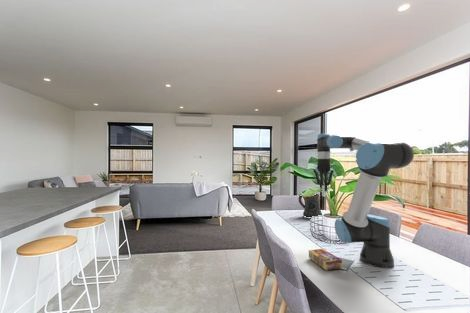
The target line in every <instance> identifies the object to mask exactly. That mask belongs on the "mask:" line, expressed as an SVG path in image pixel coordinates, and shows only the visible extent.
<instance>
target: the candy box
mask: <svg viewBox="0 0 470 313" xmlns="http://www.w3.org/2000/svg"><path fill="white" fill-rule="evenodd" d="M336 256H337V255H334V254H333V253H331V252H329V251H327V250H325V249H324V248H317V249H309V250H308V258H309V259H310V260H312V261H313V262H314V263H315V264H317V265H318V266H320V267H321V268H322V269H324V270H325V271H329V270H337V269H338V270H340V269H339V268H342V260H341V259H339V258H338V257H339V256H338V257H336Z"/></svg>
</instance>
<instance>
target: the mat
mask: <svg viewBox="0 0 470 313" xmlns="http://www.w3.org/2000/svg"><path fill="white" fill-rule="evenodd" d="M335 256H336V257H338V258H339V259H341V260H342V268H339V269H338V270H342V271H346V272H347V271H348V270H349V268H350V267H351V266H352V265H353V263H354V262H355V259H351V258H346V257H342V256H337V255H335Z"/></svg>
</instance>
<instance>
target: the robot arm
mask: <svg viewBox="0 0 470 313" xmlns="http://www.w3.org/2000/svg"><path fill="white" fill-rule="evenodd" d="M316 141H317V142H316V145H317V147H316V148H317V149H316V150H317V152H316V155H317V162H316V163H317V166H316V168H315V169H313V173H314V175H315V179H316V183H317V184H316V185H319V186H320V191H321V196H322V197H326V196H327V192H328V186H331V184H332V181H333V175H334V173H335V171H336V170H335V169H333V168H332V167H331V159H330V158H331V149H349V150H350V149H352V150H355V151H356V152H355V153H356V154H355V158H356V159H355V162H356V166H358V167H357V168H358V170H359V172H360V173H359V175H358V176H359V177H358V178H357V182H356V185H355V188H354V191H353V193H352V196H351V197H352V198H351V200H350V204H349V205H348V209H347V211H344V212H343V214H342V215H341V216H342V217H341V218H336V220H335V221H334V230H335V234H336V236H337V237H338V239H339V240H340V241H341V242H342V243H345V244H346V243H347V244H350V243H351V244H352V243H363V244H362V247H361V250H360V252H359V253H360V254H359V260H360V261H361V262H363V263H364V264H367V265H369V266H373V267H378V268H391V267H392V268H393V267H394V265H395V260H394V256H393V253H392V251H391V248H390V247H391V244H390V241H391V239H390V237H391V236H390V234H391V233H390V232H391V229H390V228H391V226H390V221H389V219H388V218H386V217H383V216H379V215H374V214H369V212H370V209H371V207H372V205H373V202H374V200H375V197H376V195H377V192H378V189H379V186H380V184H381V181H382V180H383V179H382V178H386V177H388V174H389V172H390V170H391V169H392V170H393V169H402V168H406V167H407V166H409V165H410V164H411V163H412V162H413V160H414V157H415V156H414V155H415V154H414V153H415V152H414V150H413V148H412V147H411V145H409V144H408V143H406V142H403V141H380V140H376V139H371V138H366V137H363V136H361V135H339V134H332V135H330V133H318V134H317V138H316ZM328 174H329V176H328ZM321 189H322V190H321Z"/></svg>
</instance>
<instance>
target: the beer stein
mask: <svg viewBox="0 0 470 313" xmlns="http://www.w3.org/2000/svg"><path fill="white" fill-rule="evenodd" d="M319 197H320V194H319V193H318V194H316V195H314V196H311V197H305V203H303V202H302V198H303V197H302V196H300V195H299V196H298V203H299V205H300V206H301V207H303V209H304V210H303V213H302V216H303V217H304V216H306V217H312V216H318V215H322V216H323V212H322V211H321V207H320V200H319Z"/></svg>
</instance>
